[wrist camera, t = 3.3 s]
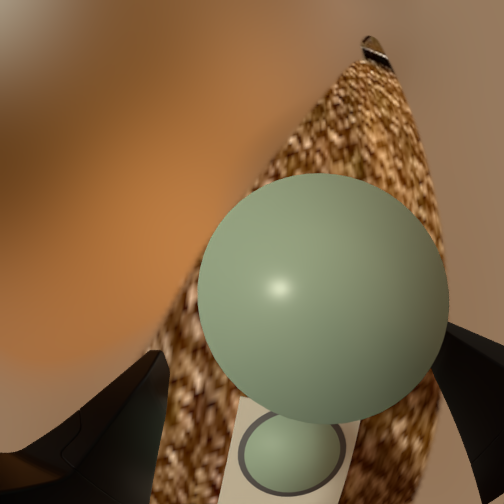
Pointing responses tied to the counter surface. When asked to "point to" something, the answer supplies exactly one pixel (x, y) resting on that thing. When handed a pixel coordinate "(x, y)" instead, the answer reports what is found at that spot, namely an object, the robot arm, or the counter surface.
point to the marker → (323, 298)
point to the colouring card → (285, 459)
